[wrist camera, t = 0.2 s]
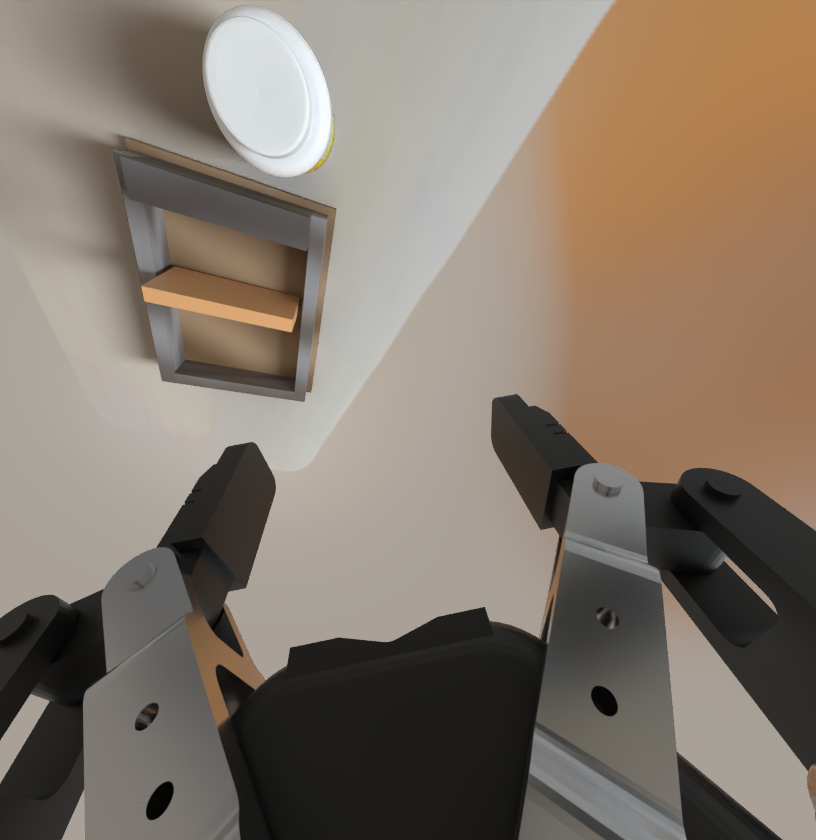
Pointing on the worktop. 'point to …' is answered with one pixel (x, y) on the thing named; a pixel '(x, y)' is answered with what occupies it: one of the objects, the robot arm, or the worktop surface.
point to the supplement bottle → (267, 92)
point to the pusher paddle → (222, 298)
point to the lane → (227, 268)
